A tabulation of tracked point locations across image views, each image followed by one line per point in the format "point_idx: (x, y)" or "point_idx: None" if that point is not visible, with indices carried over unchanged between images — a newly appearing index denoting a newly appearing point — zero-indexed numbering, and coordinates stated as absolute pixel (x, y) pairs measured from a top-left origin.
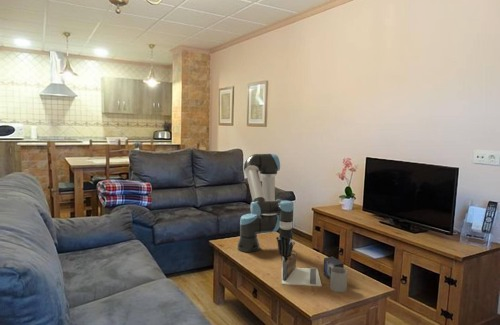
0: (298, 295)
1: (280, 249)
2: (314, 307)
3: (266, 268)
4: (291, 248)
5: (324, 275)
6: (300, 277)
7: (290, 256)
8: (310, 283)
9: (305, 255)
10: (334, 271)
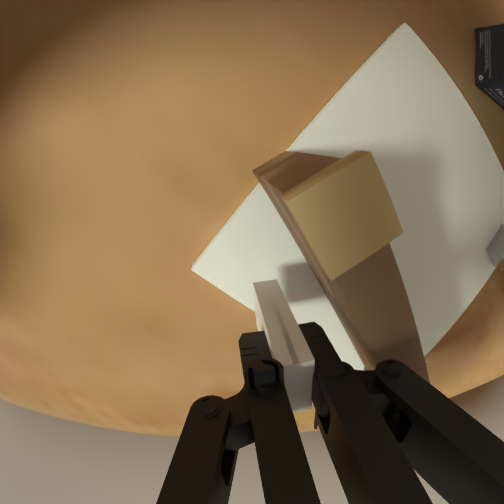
0: (475, 360)
1: (227, 492)
2: None
3: (139, 365)
4: (494, 464)
5: (486, 92)
6: (431, 258)
7: (362, 327)
8: (495, 264)
9: None
10: None
